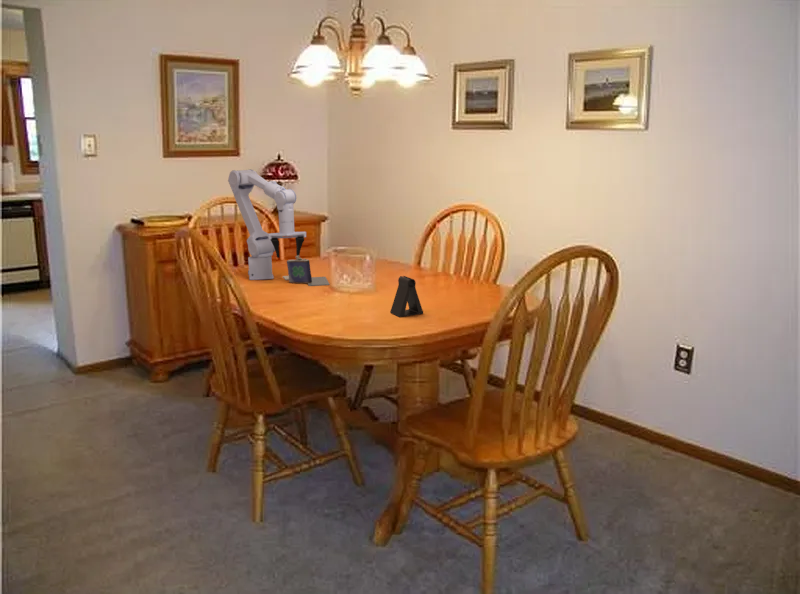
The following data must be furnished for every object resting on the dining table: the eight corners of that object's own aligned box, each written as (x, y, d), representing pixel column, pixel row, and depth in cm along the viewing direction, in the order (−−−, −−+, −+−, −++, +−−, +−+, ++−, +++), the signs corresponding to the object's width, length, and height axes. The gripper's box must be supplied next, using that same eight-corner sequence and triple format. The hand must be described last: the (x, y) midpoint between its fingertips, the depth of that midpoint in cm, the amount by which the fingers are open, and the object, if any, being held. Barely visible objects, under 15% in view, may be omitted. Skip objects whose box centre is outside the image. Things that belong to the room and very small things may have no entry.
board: (308, 286, 262) (308, 285, 262) (305, 278, 275) (305, 277, 275) (329, 285, 264) (329, 284, 263) (325, 277, 277) (325, 276, 277)
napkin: (285, 280, 272) (285, 279, 272) (282, 277, 277) (282, 276, 277) (305, 278, 275) (305, 277, 275) (301, 275, 280) (301, 274, 280)
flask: (288, 283, 267) (285, 256, 264) (291, 281, 269) (288, 254, 266) (310, 283, 264) (307, 256, 261) (313, 281, 267) (310, 254, 264)
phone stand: (413, 309, 228) (414, 274, 225) (423, 313, 223) (423, 277, 220) (390, 313, 223) (390, 277, 221) (399, 317, 218) (399, 280, 216)
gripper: (269, 223, 256) (271, 259, 259) (307, 221, 260) (308, 257, 264) (266, 221, 262) (267, 256, 265) (303, 219, 267) (304, 254, 270)
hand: (288, 256), depth 265 cm, fingers open, 7 cm apart
